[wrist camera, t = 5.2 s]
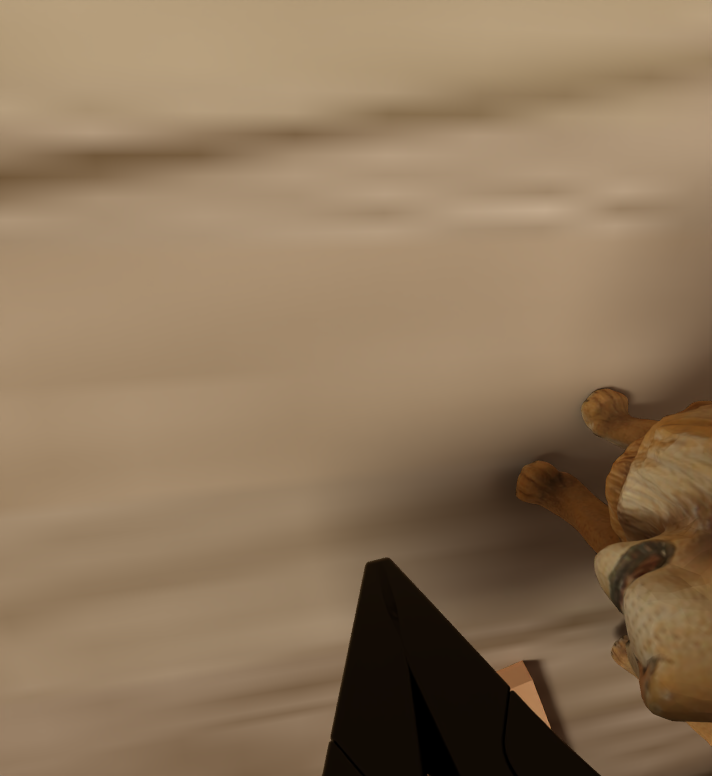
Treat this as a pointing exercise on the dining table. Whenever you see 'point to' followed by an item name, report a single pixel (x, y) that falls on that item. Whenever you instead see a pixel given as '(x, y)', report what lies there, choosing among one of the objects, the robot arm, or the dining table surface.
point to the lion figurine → (649, 546)
